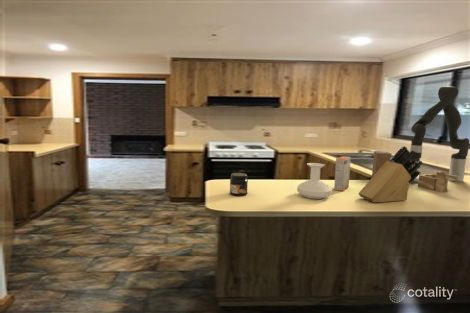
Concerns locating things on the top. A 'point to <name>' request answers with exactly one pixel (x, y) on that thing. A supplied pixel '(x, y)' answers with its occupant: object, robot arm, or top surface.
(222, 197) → the top surface
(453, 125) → the robot arm
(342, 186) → the cracker box
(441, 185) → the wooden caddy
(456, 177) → the wooden peg
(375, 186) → the knife block
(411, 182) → the mat
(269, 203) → the top surface
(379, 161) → the wooden block
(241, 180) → the supplement container
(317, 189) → the white vase
